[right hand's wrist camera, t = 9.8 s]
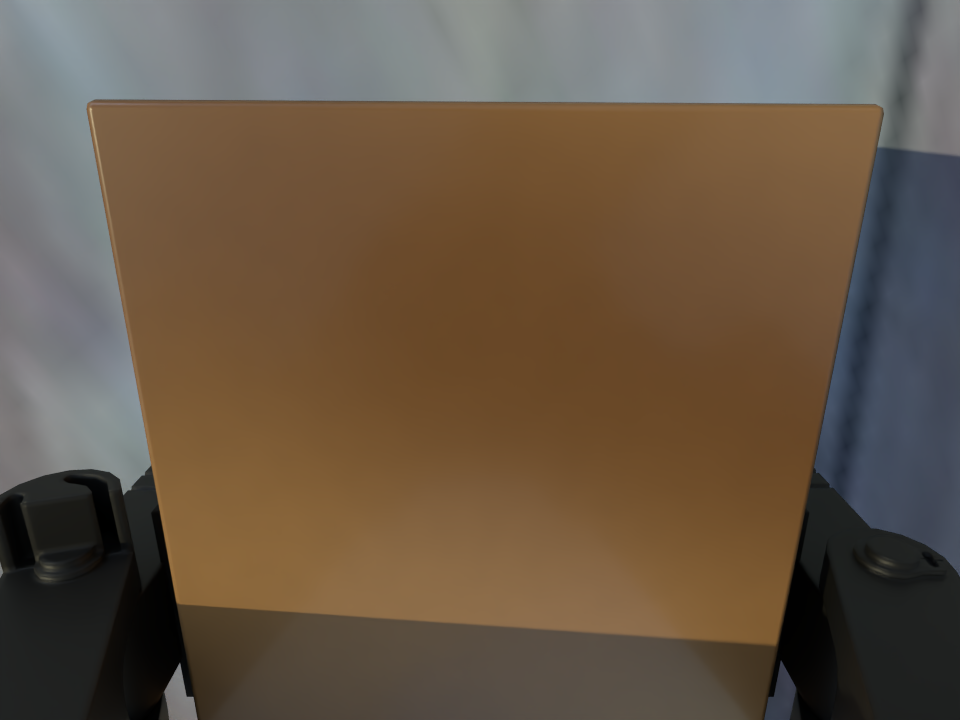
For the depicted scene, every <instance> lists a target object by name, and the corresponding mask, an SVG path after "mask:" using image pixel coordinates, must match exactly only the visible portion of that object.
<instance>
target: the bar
mask: <svg viewBox="0 0 960 720" xmlns="http://www.w3.org/2000/svg"><path fill="white" fill-rule="evenodd" d="M87 114H88V119H89V125H90V130H91V136H92V141H93V147H94V152H95V158H96V163H97V169H98V174H99V180H100V185H101V191H102V196H103V202H104V207H105V213H106V218H107V224H108V229H109V235H110V240H111V246H112V251H113V257H114V262H115V268H116V273H117V279H118V284H119V290H120V295H121V301H122V306H123V312H124V317H125V323H126V328H127V334H128V339H129V345H130V350H131V356H132V361H133V367H134V372H135V378H136V383H137V389H138V394H139V400H140V405H141V410H142V416H143V421H144V427H145V432H146V438H147V443H148V449H149V454H150V460H151V465H152V471H153V476H154V482H155V487H156V493H157V498H158V504H159V509H160V515H161V520H162V526H163V531H164V537H165V542H166V548H167V553H168V559H169V564H170V570H171V575H172V581H173V586H174V592H175V597H176V603H177V608H178V614H179V619H180V625H181V630H182V636H183V641H184V647H185V652H186V658H187V663H188V669H189V674H190V680H191V685H192V691H193V696H194V702H195V707H196V713H197V718H198V720H764V717H765V712H766V707H767V702H768V696H769V691H770V686H771V681H772V676H773V671H774V666H775V661H776V656H777V651H778V646H779V641H780V636H781V631H782V626H783V621H784V616H785V611H786V606H787V600H788V595H789V590H790V585H791V580H792V575H793V570H794V565H795V560H796V555H797V550H798V545H799V540H800V535H801V530H802V525H803V520H804V515H805V510H806V504H807V499H808V494H809V489H810V484H811V479H812V474H813V469H814V464H815V459H816V454H817V449H818V444H819V439H820V434H821V429H822V424H823V419H824V414H825V409H826V403H827V398H828V393H829V388H830V383H831V378H832V373H833V368H834V363H835V358H836V353H837V348H838V343H839V338H840V333H841V328H842V323H843V318H844V313H845V307H846V302H847V297H848V292H849V287H850V282H851V277H852V272H853V267H854V262H855V257H856V252H857V247H858V242H859V237H860V232H861V227H862V222H863V217H864V211H865V206H866V201H867V196H868V191H869V186H870V181H871V176H872V171H873V166H874V161H875V156H876V151H877V146H878V141H879V136H880V131H881V126H882V121H883V115H884V112H883V108H882V107H880V106H878V105H876V104H758V103H592V102H425V101H259V100H93V101H91V102H89V103H88V104H87Z"/></svg>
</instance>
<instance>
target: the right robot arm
mask: <svg viewBox="0 0 960 720" xmlns="http://www.w3.org/2000/svg"><path fill="white" fill-rule="evenodd" d="M0 563H1V566H2V569H3V574H2V576H1V578H0V720H169V716H168V708H167V703H166V698H165V693H164V691H165V689H166V687H167V685H168V683H169V681H170V680H171V678H172V676H173V674H174V672H175V670H176V669H177V667H178V665H179V663H180V664H181V669H182V675H183V680H184V685H185V690H186V695H187V697H194V696H193V691H192V685H191V680H190V674H189V669H188V663H187V658H186V652H185V647H184V641H183V636H182V630H181V625H180V619H179V614H178V608H177V603H176V597H175V592H174V586H173V581H172V575H171V570H170V564H169V559H168V553H167V548H166V542H165V537H164V531H163V526H162V520H161V515H160V509H159V504H158V498H157V493H156V487H155V482H154V476H153V471H152V465H151V466H150V468H149V469H148V470H147V471H146V472H145V476H141V477H140V478H139V479H138V480H137V481H136V483H135V484H134V485H133V486H132V489H131V490H128V491H127V492H126V493H125V494H124V495H123V493H122V488H121V483H120V479H119V478H117V477H116V476H114V475H113V474H111V473H110V472H105V471H99V470H93V469H88V470H69V471H64V472H59V473H54V474H50V475H45V476H42V477H39V478H36V479H33V480H30V481H28V482H25V483H22V484H19V485H17V486H16V487H14V488H12V489H10V490H8V491H6V492H5V493H3V494H1V495H0ZM781 661H782V662H783V664H784V666H785V668H786V670H787V672H788V673H789V675H790V677H791V679H792V681H793V682H794V684H795V686H796V688H797V689H796V693H795V698H794V703H793V708H792V712H791V717H790V720H960V577H959V575H958V573H957V571H956V570H955V569H954V568H953V567H952V566H951V565H950V563H949V562H948V561H947V560H946V559H945V558H944V557H943V556H941V555H940V554H938V553H937V552H935V551H934V550H932V549H931V548H929V547H928V546H926V545H924V544H922V543H920V542H917V541H915V540H912V539H910V538H908V537H905V536H903V535H900V534H896V533H892V532H888V531H884V530H880V529H871V528H870V527H869V526H868V525H867V524H866V523H865V521H864V520H863V519H862V518H861V517H860V516H859V515H858V514H857V513H856V512H855V511H854V510H853V509H852V508H851V507H850V506H849V504H848V503H847V502H846V501H845V500H844V499H843V498H842V497H841V496H840V495H839V494H838V493H837V492H836V491H835V490H834V489H833V488H830V487H829V483H828V482H827V481H826V480H825V479H824V478H823V477H822V476H821V475H820V474H819V473H816V470H815V468H814V469H813V474H812V479H811V484H810V489H809V494H808V499H807V504H806V510H805V515H804V520H803V525H802V530H801V535H800V540H799V545H798V550H797V555H796V560H795V565H794V570H793V575H792V580H791V585H790V590H789V595H788V600H787V606H786V611H785V616H784V621H783V626H782V631H781V636H780V641H779V646H778V651H777V656H776V661H775V666H774V671H773V676H772V681H771V686H770V691H769V696H768V697H774V692H775V687H776V682H777V677H778V672H779V667H780V662H781Z"/></svg>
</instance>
